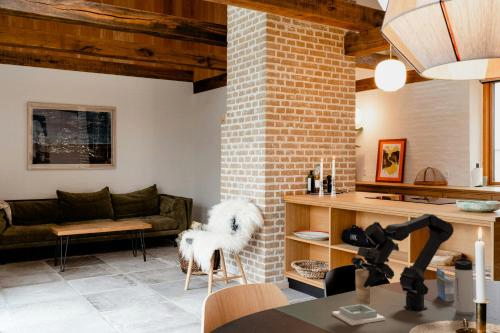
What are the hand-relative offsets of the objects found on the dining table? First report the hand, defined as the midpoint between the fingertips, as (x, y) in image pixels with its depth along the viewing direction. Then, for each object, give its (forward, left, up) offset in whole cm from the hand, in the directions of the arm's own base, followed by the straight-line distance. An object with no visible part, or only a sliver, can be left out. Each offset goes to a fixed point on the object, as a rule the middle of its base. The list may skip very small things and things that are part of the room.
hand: (359, 285), depth 176 cm
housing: (-1, -3, -13) cm, 13 cm away
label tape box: (-47, -3, -13) cm, 49 cm away
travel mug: (-38, +14, -13) cm, 43 cm away
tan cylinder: (-1, 0, -7) cm, 7 cm away
